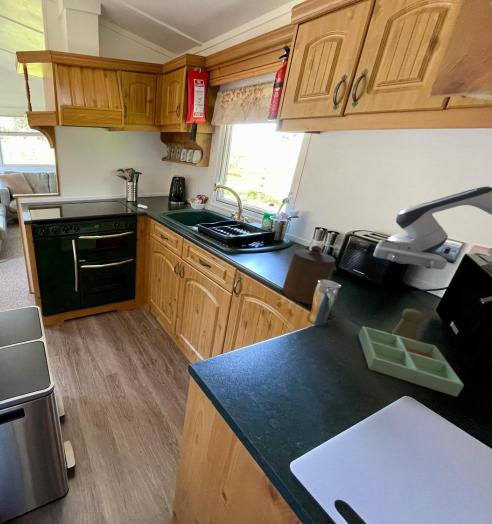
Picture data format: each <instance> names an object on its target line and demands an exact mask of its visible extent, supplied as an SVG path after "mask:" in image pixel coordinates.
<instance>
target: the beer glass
mask: <svg viewBox="0 0 492 524" xmlns="http://www.w3.org/2000/svg"><path fill="white" fill-rule="evenodd" d="M341 289H342V285H341V284H340V283H338V282H336V281H334V280H325V279H321V280H319V281H318V284H317V286H316V288H315V291H314V294H313V301H312V304H311V308H310V312H309V314H308V315H307V317H306V320H307V321H308V322H309V323H310V324H313V325H315V326H318V327H325V326H327V323H328V317H329V314H330V313H331V311H332V310H333V308H334V307H335V305H336V303H337V301H338V299H339V295H340V291H341Z"/></svg>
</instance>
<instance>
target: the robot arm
mask: <svg viewBox="0 0 492 524" xmlns="http://www.w3.org/2000/svg"><path fill="white" fill-rule="evenodd" d="M461 206H471V207H475V208H478V209H480V210H482V211H484V212H486V213H487V214H489V215H491V216H492V187H491V186H480V187H476V188H471V189H468V190H465V191H461V192H458V193H455V194H451V195H448V196H444V197H441V198H438V199H433V200H431V201H427V202H422V203H418V204H415V205H410V206H408V207H405V208H403V209H402V210H400V211H398V213H397V215H396V219H395V223H396V224H397V225H398V226H399V227H400V228H401V229H402V230H403V231H404V233H394V234H392V235H391V236H389V237H388V238H387V239H380V240H379V242H378V243H377V244H376V246H375V248H374V252H373V257H374V258H376V259H377V258H378V259H383V260H388V261H390V262H393V263H396V264H397V263H398V264H401V265H408V264H410V265H414V266H420V267H424V268H425V269H430V270H432V269H434V270H445V267H446V266H447V264H448V260H447V259H446V258H445V257H443V256H441V255H439V254H435V253H431V252H434V251H436V250H438V249H439V248H441V247H443V245H444V244H445V243H446V242H447V240H448V237H449V235H448V234H447V232H446V231H445V229H444V228H443V227H442V226H441V225H440V223H439V222H438V221H437V219H436V218H435V217H434V215H433V214H436V213H438V212H442V211H443V212H444V211H447V210H449V209H453V208H456V207H461Z"/></svg>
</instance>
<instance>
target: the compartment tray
mask: <svg viewBox="0 0 492 524" xmlns="http://www.w3.org/2000/svg"><path fill="white" fill-rule="evenodd" d="M358 338H359V342H360V345H361V349H362V351H363V354H364V357H365V361H366V364H367V366H368V369H369V370H371V371H374V372H378V373H381V374H383V375H387V376H390V377H393V378H397V379H400V380H403V381H405V382H409V383H412V384H415V385H419V386H421V387H425V388H428V389H431V390H433V391H437V392H440V393H443V394H445V395H446V394H447V395H448V396H449V395H450V396H453V397H456V398H458V396H459V394H460V393H461V391H462V390H463V388H464V386H465V385H464V383H463V382H462V381H461V379H460V378H459V376H458V375H457V373H456V372H455V371H454V369H453V368H452V366H451V365H450V363H449V362H448V360H447V359H446V357H444V355H443V354H442V352H441V351H440V350H439V348H438V347H437V345H434V344H430V343H427V342H423V341H420V340H417V339H415V340H412V339H408V338H405V337H401V336H397V335H394V334H391V333H390V332H387V331H382V330H379V329H376V328H371V327H367V326H364V325H362V327H361V328H360V331H359V334H358Z"/></svg>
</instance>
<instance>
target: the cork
mask: <svg viewBox="0 0 492 524" xmlns="http://www.w3.org/2000/svg"><path fill="white" fill-rule="evenodd" d="M401 316H402V317H401V318H400V320H399V321H398V323H397V324H396V326H395V328H394V329H393V330H392V331H391V333H390V334H394V335H397V336H401V337H405V338H408V339H412V340H416V336H417V332H418V330H419V329H418V328H419V325H420V323H422V322H423V321H424V320H425V314H424V313H423V312H421V311H420V310H417V309H415V308H405V309H403V311H402V312H401Z"/></svg>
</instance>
